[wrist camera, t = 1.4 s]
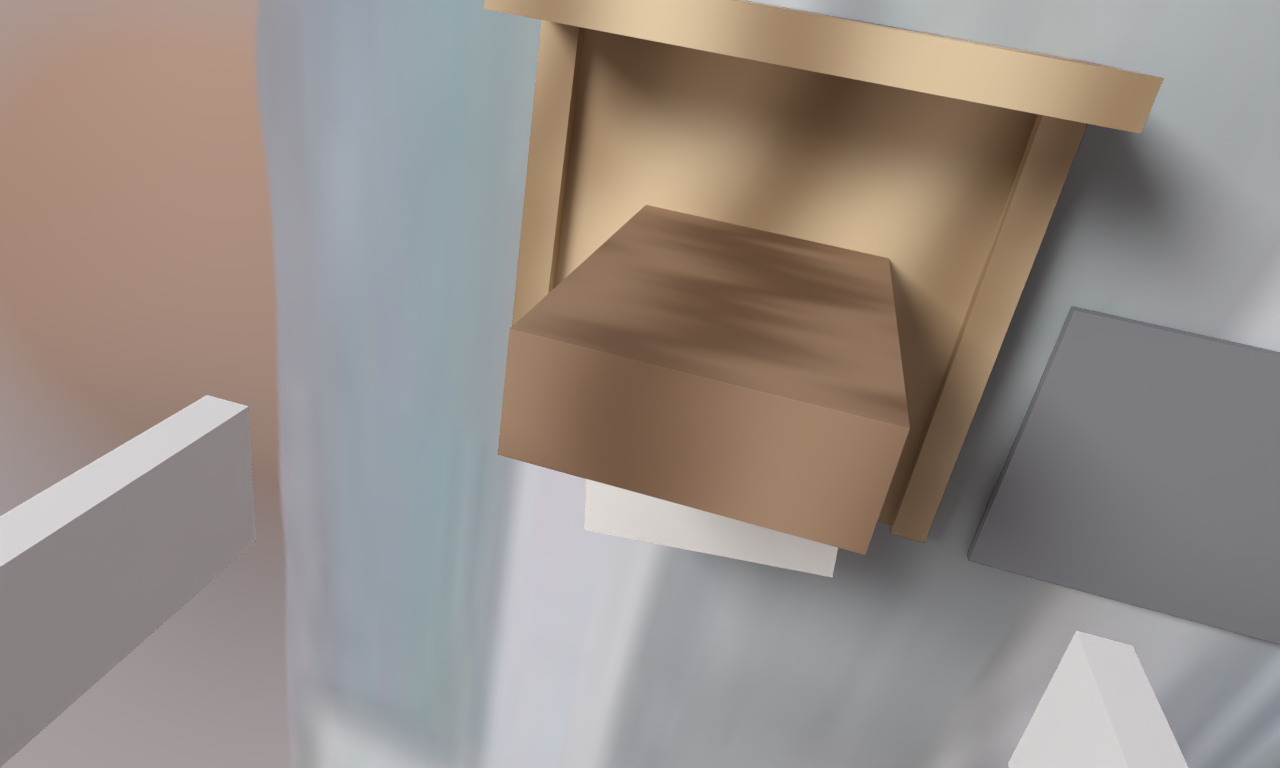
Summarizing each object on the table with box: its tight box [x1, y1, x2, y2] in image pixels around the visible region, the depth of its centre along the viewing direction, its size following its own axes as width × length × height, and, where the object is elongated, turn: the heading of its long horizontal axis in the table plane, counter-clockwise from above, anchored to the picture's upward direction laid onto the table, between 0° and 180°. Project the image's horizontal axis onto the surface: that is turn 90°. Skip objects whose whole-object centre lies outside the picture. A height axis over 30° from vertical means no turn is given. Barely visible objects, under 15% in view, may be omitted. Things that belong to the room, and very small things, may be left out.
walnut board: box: [498, 205, 910, 555], centre depth 22 cm, size 8×3×12 cm, turn 80°
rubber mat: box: [967, 307, 1280, 644], centre depth 27 cm, size 14×10×1 cm
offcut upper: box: [584, 479, 838, 577], centre depth 27 cm, size 8×4×2 cm, turn 86°
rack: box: [484, 0, 1164, 543], centre depth 25 cm, size 16×16×6 cm
